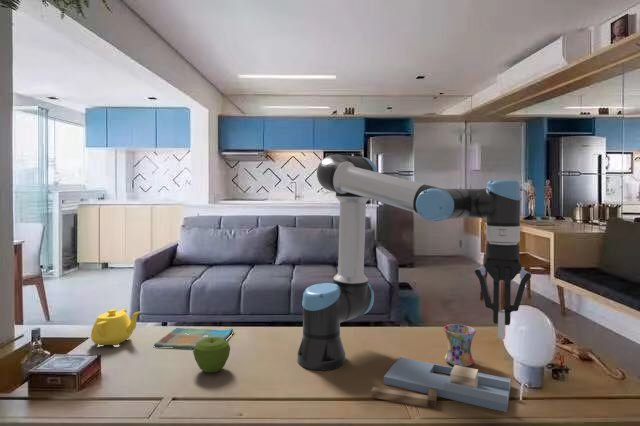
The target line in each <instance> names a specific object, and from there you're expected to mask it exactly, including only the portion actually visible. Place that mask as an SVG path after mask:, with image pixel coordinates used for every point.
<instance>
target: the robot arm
mask: <svg viewBox="0 0 640 426" xmlns="http://www.w3.org/2000/svg"><path fill="white" fill-rule="evenodd" d="M316 177H317V181H318V183H319V184H320V185H321V187H322V188H324V189H325V190H326V191H330V192H333V193H335V198H336V199H337V200H338V202H339V230H338V231H339V232H338V263H337V266H338V267H337V268H338V269H337V273H336V275H334V276H333V281H332V282H322V283H316V284H312V285H310V286H307V288H305V290H304V291H303V294H302V303H301V305H302V338H301V341H300V344H299V348H298V351H297V364H299V365H300V366H301V367H303V368H306V369H308V370H313V371H328V370H333V369H339V368H340V367H341V366H343V365H345V363H346V350H345V348H344V344H343V342H342V339H341V323H344V322H347V321H350V320H353V319H355V318H356V319H357V318H360V317H362V316H363V315H366V314H367V313H368V312H369V311H370V310H371V309H372V307H373V305H374V302H375V293H374V290H373V289H372V285H371V284H369V278H368V277H367V276H366V275H365V272H364V271H365V245H366V244H365V243H366V242H365V241H366V240H365V239H366V217H367V216H366V215H367V214H366V213H367V212H366V211H367V202H368V201H369V200H373V201H376V202H380V203H382V204H386V205H389V206H393V207H395V208H399V209H401V210H406V211H408V212H409V211H410V212H412V213H415V214H418V215H419V216H420V217H422V218H423V219H424V220H427V221H433V222H440V221H445V220H452V219H463V218H465V219H466V218H467V219H470V218H471V219H475V218H476V219H486V241H487V242H488V243H486V246H485V247H486V249H485V250H486V251H485V252H486V253H485V254H486V255H485V256H486V257H485V258H486V259H485V262H484V263H483V265H482V266H481V267H477V268H476V269H475V270H474V273H475V275H476V277H477V279H478V281H479V285H480V289H481V292H482V293H481V294H482V297H483V301H484V305H485V307H486V308H487V309H491V310H492V312H493V315H492V316H493V317H492V318H493V319H492V320H493V321H492V322H493V323H494V324H495V325H497V339H502V340H505V339H506V326H510V324H511V316H512V315H511V313H512V312H518V311H519V309H520V305H521V301H522V297H523V294H524V291H525V289H526V284H527V282H528V281H529V280H530V279H531V278H532V273H531V271H527V270H525V269H524V268H523V266H522V264H521V261H520V257H521V255H520V253H521V248H520V247H521V246H520V244H519V243H520V241H521V201H522V198H521V184H520V182H519V181H517V180H515V179H510V180H509V179H506V180H505V179H502V180H501V179H500V180H499V179H498V180H489V181H487V183H486V186H485V187H486V188H442V187H437V186H433V185H429V184H425V183H421V182H417V181H413V180H409V179H404V178H401V177H396V176H393V175H389V174H385V173H381V172H378V168H377V166H376V164H375V163H374V162H373V160H371V159H370V158H367V157H363V156H358V155H344V154H338V153H336V154H330V155H328V156H326V157H324V158H323V159H322V160H321V161H320V163H319V164H318V166H317V170H316ZM487 273H488V275H489V276H490V278H492V279H493V302H492V299H491V295H490V291H489V287H488V283H487V279H486V276H485V275H486V274H487ZM518 274H519V278H520V283H519V285H518V287H517V288H518V289H517V291H516V295H515V299H514V303H513V304H511V303H512V299H511V298H512V281H513V279H515V278H516V276H517V275H518ZM501 281H504V309H500V298H501V297H500V292H501V290H500V288H501V286H500V284H501Z"/></svg>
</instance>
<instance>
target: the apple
mask: <svg viewBox="0 0 640 426" xmlns="http://www.w3.org/2000/svg"><path fill="white" fill-rule="evenodd" d="M192 354H193V357H194V360H195V362H196V364H197V366H198V368H199V369H200V370H201V371H202V372H205V373H208V374H213V373H218V372H220V371H221V370H222V369H224V367H225V366H226V363H227V361H228V359H229V357H230V354H231V346H230V344H229V341H226V340H224V339H223V338H220V337H208V338H204V339H202V340H201V341H199V342H198V343H196V345H195V347H194V349H192Z"/></svg>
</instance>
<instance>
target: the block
mask: <svg viewBox="0 0 640 426" xmlns="http://www.w3.org/2000/svg"><path fill="white" fill-rule="evenodd" d="M478 373H479V369H478V368H477V369H476V368H472V367H469V366H464V367H463V366H457V365H453V369H452V371H451V373H450V374H449V377H450V383H455V384H460V385H464V386H469V387H473V388H477V385H478Z"/></svg>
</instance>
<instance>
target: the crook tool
mask: <svg viewBox="0 0 640 426" xmlns="http://www.w3.org/2000/svg"><path fill="white" fill-rule="evenodd" d="M371 388H372V389H371V390H370V391H371V398H373V399H379V400H385V401H389V402H397V403H402V404H403V403H404V404H408V403H410V404H409V405H415V406H419V407H420V406H421V407H424V408H431V407H432V409H437V402H438V396H437V389H430V388H429V393H428V394H421V393H420V394H419V393H414V392H408V391H402V390H395V389H389V388H383V387H377V386H372V387H371Z"/></svg>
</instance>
